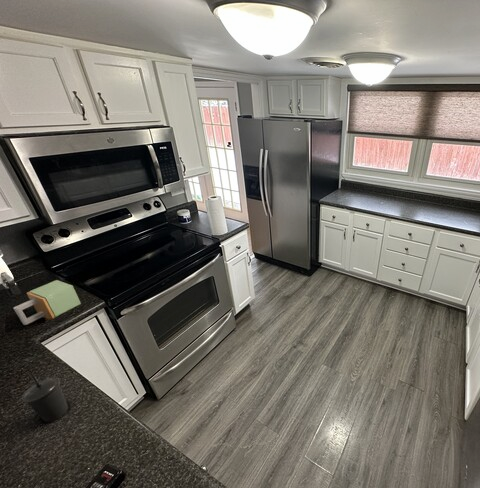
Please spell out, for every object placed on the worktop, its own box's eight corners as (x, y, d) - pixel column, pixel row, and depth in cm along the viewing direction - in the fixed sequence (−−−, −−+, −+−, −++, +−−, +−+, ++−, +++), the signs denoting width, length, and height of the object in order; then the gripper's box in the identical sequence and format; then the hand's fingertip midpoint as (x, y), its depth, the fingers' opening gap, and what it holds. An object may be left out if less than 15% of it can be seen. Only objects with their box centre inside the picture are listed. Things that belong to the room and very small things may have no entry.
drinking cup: (73, 424, 80) (44, 377, 72) (39, 438, 76) (4, 390, 68) (79, 403, 86) (53, 358, 78) (48, 415, 82) (17, 369, 74)
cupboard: (57, 321, 119) (45, 297, 113) (41, 314, 123) (29, 291, 117) (82, 307, 127) (72, 285, 122) (67, 301, 131) (56, 279, 125)
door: (35, 332, 112) (21, 309, 107) (18, 325, 116) (4, 302, 110) (57, 321, 119) (45, 298, 113) (41, 314, 122) (28, 291, 117)
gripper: (-41, 254, 98) (-16, 292, 106) (-16, 264, 93) (8, 302, 100) (-12, 246, 105) (9, 282, 112) (13, 255, 99) (33, 292, 107)
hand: (9, 292), depth 106 cm, fingers open, 9 cm apart
